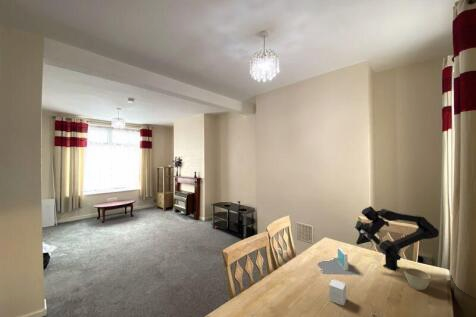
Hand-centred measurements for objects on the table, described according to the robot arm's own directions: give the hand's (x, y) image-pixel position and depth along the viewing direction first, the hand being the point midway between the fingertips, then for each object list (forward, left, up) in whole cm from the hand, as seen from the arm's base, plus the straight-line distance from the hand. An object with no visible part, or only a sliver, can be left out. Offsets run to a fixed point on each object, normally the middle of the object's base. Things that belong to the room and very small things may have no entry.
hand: (356, 244), depth 123 cm
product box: (+37, +12, -14) cm, 41 cm away
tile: (+7, -5, -13) cm, 16 cm away
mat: (+11, -8, -14) cm, 19 cm away
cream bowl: (-5, +27, -14) cm, 31 cm away
